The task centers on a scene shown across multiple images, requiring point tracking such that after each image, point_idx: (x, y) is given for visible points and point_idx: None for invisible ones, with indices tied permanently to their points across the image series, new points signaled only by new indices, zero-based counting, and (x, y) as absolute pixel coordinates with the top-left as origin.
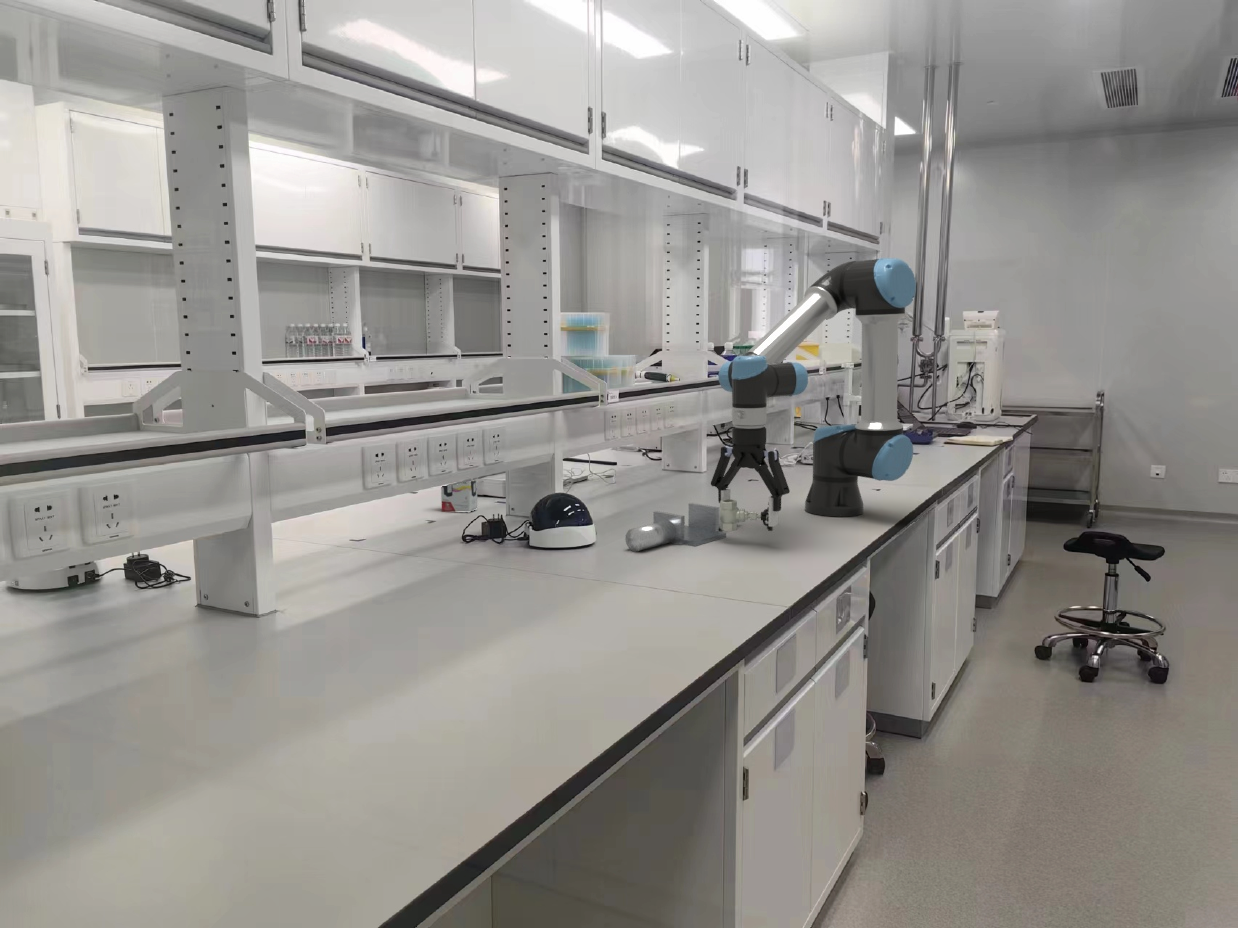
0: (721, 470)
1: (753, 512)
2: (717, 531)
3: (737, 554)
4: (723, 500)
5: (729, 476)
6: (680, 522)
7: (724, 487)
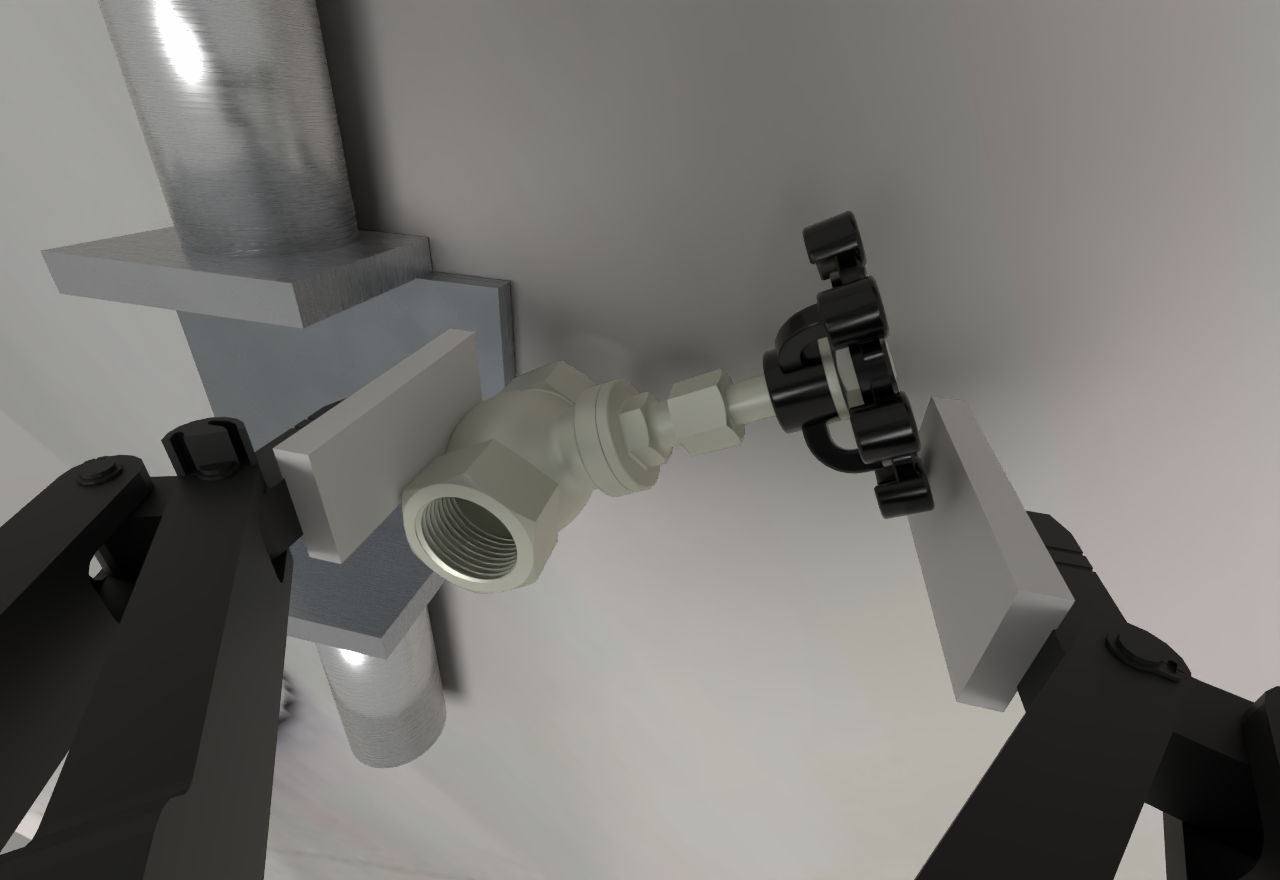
0: (41, 734)
1: (707, 435)
2: (435, 285)
3: (772, 585)
4: (419, 530)
5: (275, 736)
6: (402, 630)
7: (275, 525)
